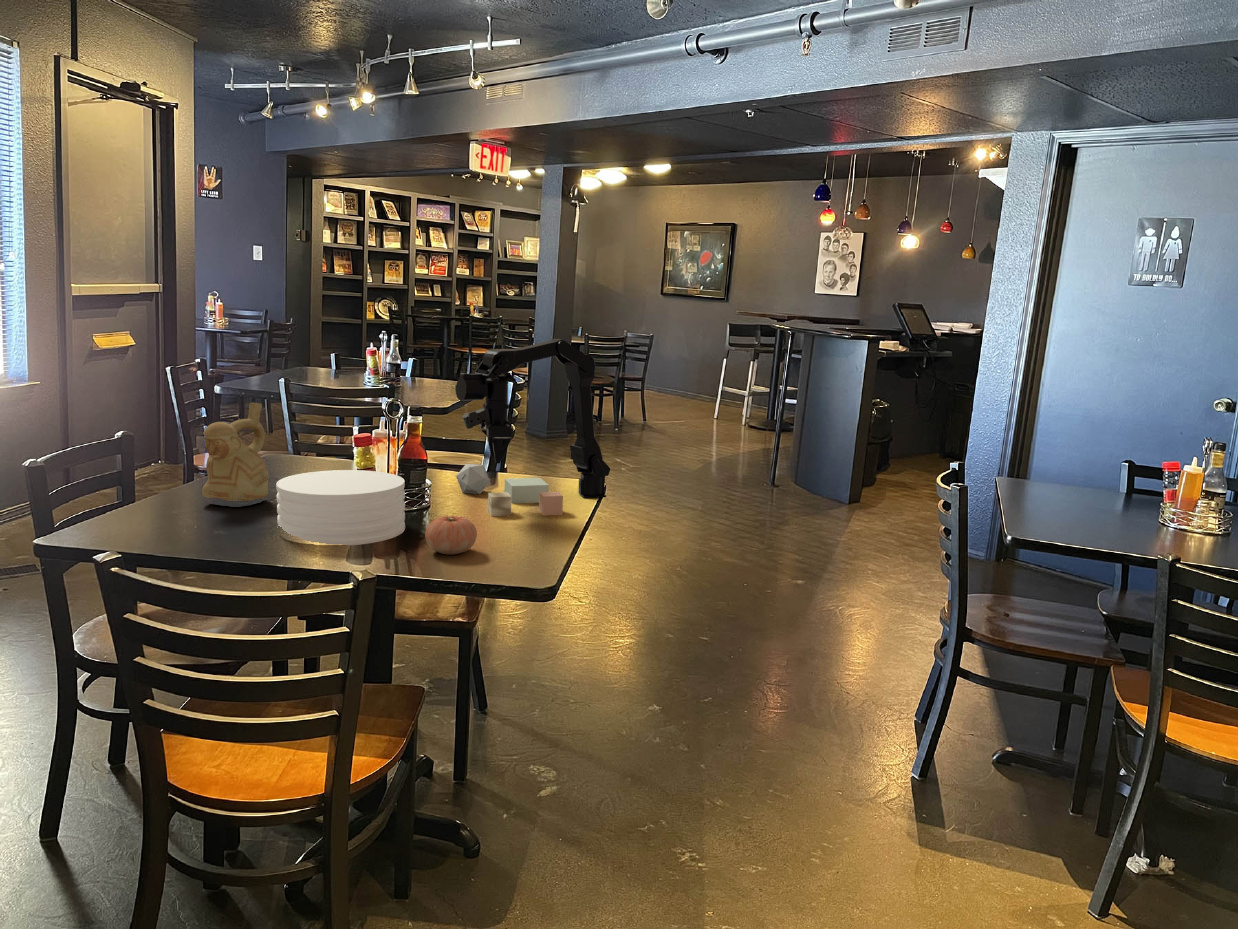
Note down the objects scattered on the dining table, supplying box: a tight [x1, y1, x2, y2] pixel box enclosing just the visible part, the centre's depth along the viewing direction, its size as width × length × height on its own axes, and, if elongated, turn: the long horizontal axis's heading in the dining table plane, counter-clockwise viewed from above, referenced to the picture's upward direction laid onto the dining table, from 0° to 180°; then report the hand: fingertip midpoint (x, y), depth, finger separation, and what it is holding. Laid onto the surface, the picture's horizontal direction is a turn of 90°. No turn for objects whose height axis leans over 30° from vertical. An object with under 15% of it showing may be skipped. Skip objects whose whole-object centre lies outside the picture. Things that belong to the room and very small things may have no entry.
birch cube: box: [487, 491, 512, 517], centre depth 231 cm, size 5×5×5 cm
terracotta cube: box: [538, 491, 564, 516], centre depth 234 cm, size 5×5×5 cm
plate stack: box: [275, 469, 406, 546], centre depth 210 cm, size 28×28×12 cm
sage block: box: [503, 477, 549, 504], centre depth 249 cm, size 10×10×5 cm
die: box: [455, 463, 491, 495], centre depth 254 cm, size 8×9×10 cm
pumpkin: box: [424, 515, 478, 556], centre depth 195 cm, size 11×11×8 cm
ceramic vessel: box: [201, 402, 269, 501], centre depth 230 cm, size 17×20×25 cm
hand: (495, 460), depth 235 cm, fingers open, 9 cm apart
